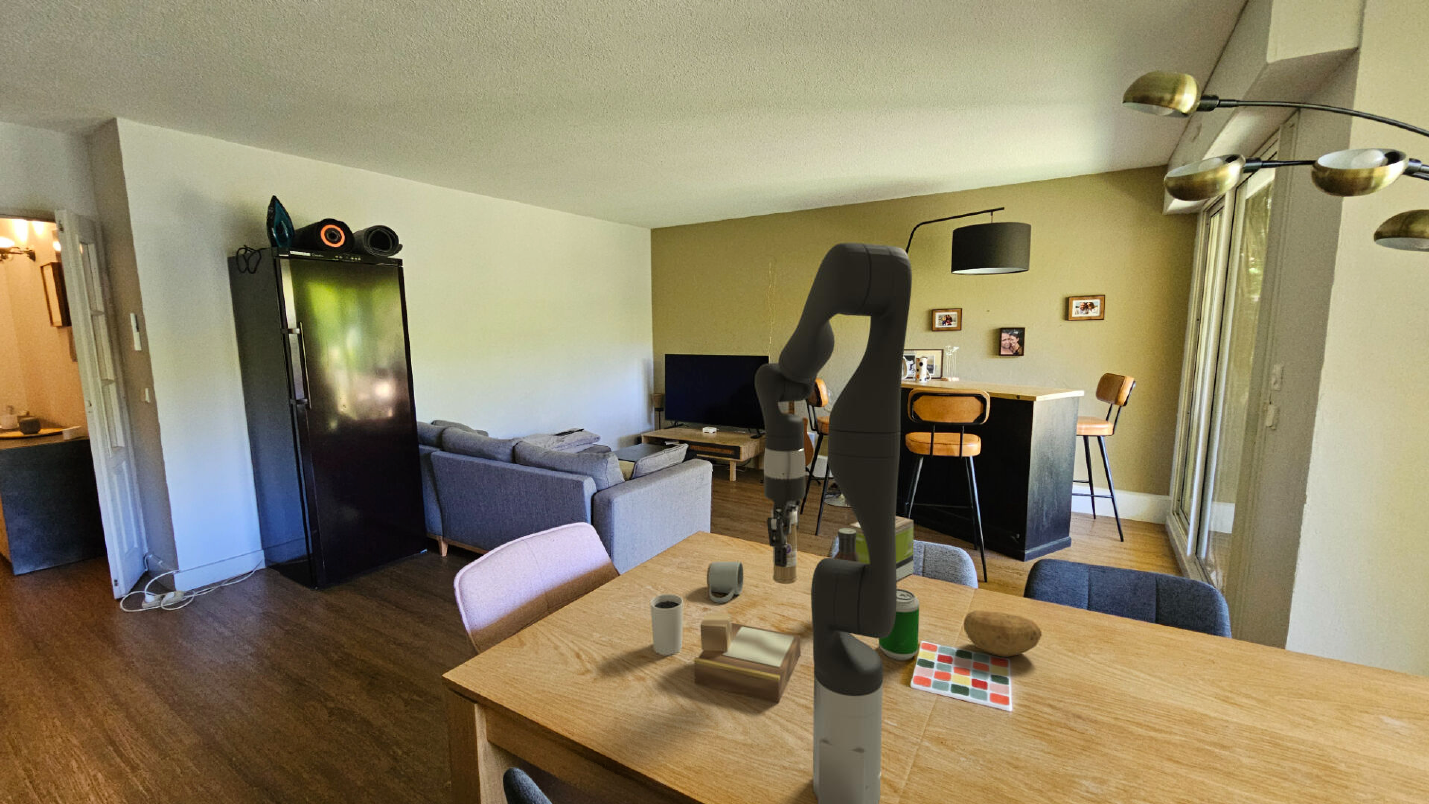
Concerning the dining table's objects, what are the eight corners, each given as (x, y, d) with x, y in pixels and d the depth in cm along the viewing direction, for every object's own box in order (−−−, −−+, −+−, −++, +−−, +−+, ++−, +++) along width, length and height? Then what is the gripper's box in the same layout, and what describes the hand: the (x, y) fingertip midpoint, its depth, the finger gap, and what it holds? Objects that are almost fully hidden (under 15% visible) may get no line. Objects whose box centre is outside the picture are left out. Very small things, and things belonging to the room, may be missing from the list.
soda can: (920, 664, 111) (922, 605, 109) (880, 660, 112) (881, 602, 111) (915, 643, 118) (916, 588, 116) (877, 640, 119) (878, 585, 118)
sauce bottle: (862, 624, 126) (863, 537, 124) (833, 622, 127) (834, 535, 125) (859, 610, 132) (860, 526, 130) (831, 608, 133) (832, 525, 131)
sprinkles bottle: (778, 586, 105) (777, 515, 103) (769, 576, 109) (768, 508, 108) (801, 583, 106) (801, 513, 104) (791, 573, 111) (791, 505, 109)
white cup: (646, 644, 119) (645, 598, 118) (676, 636, 122) (675, 591, 121) (658, 660, 113) (657, 612, 112) (689, 651, 116) (688, 604, 115)
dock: (778, 703, 100) (778, 678, 99) (694, 683, 106) (694, 659, 105) (800, 654, 114) (800, 633, 114) (725, 639, 120) (725, 619, 120)
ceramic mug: (712, 583, 148) (712, 554, 146) (744, 586, 146) (743, 557, 145) (702, 603, 137) (701, 572, 136) (735, 606, 135) (735, 575, 134)
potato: (1047, 671, 108) (1049, 630, 107) (966, 661, 111) (968, 622, 110) (1032, 643, 117) (1034, 606, 116) (958, 635, 121) (960, 599, 120)
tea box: (881, 562, 159) (882, 510, 158) (914, 573, 152) (915, 519, 150) (847, 577, 150) (848, 522, 148) (880, 590, 142) (882, 533, 140)
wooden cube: (725, 626, 108) (731, 614, 113) (700, 625, 109) (706, 612, 114) (727, 651, 108) (732, 638, 113) (701, 650, 109) (708, 636, 114)
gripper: (793, 483, 97) (793, 579, 99) (814, 464, 110) (813, 549, 112) (752, 479, 100) (752, 572, 102) (776, 461, 113) (776, 544, 115)
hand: (784, 560), depth 107 cm, fingers closed on sprinkles bottle, 4 cm apart
